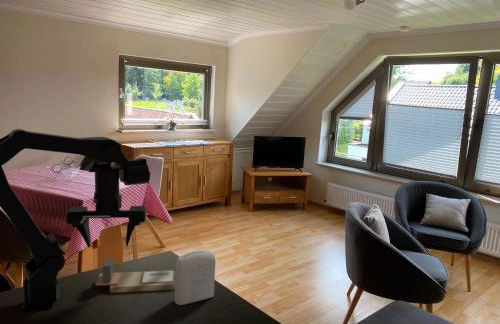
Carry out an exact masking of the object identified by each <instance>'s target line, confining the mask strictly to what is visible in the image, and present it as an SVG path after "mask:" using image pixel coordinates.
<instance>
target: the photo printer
mask: <svg viewBox="0 0 500 324" xmlns="http://www.w3.org/2000/svg"><path fill="white" fill-rule="evenodd" d="M174 267H175V268H174V270H175V278H174V303H175V304H176V305H178V306H183V305H188V304H193V303H196V302H199V301H204V300H207V299H210V298H213V297H214V296H215V280H216V279H215V277H216V275H215V274H216V257H215V253H214V252H212V251H211V250H195V251H190V252H188V253H185V254H182V255H180V256H179V257H177V258H176V259H175V266H174Z"/></svg>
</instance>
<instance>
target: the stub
mask: <svg viewBox="0 0 500 324" xmlns="http://www.w3.org/2000/svg"><path fill="white" fill-rule="evenodd" d="M114 267H115V266H114V257H106V258H105V260H104V263H103V265H102V272H100V273H99V275H98V278H97V280H96V282H95V286H97V287H98V286H110V285H117V284H118V281H119V277H120V274H121V271H120V272H115V271H114V269H115V268H114Z"/></svg>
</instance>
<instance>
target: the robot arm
mask: <svg viewBox="0 0 500 324" xmlns="http://www.w3.org/2000/svg"><path fill="white" fill-rule="evenodd" d="M25 149H27V150H37V151H45V152H53V153H54V152H56V153H62V154H63V153H64V154H71V155H72V154H73V155H80V156H83V157H85V158H86V157H87V158H90V159H93V160H91V162H90V163H89V164H88V165H87V166H85V168H84V169H85V170H86V171H87V172H89V173H94V193H93V204H95V210H88V206H72V207H71V208H70V209H69V210H68V211H67V212H66V214H65V224H67V225H71V227H72V228H76V229H77V231H78V232H79V234H80V235H81V237H82V238H83V240H84V242H85V244H86V246H87V248H91V246H92V238H91V232H90V219H119V218H120V219H122V218H128V222H127V226H126V227H127V228H126V234H125V235H126V236H125V246H126V247H128V245H129V243H130V239H131V237H132V234H133V232H134V230H135V227H136V226H140V225H141V223H145V222H146V221H147V219H146V218H147V207H146V206H145V205H130V208H129V209H122V201H123V200H122V198H123V197H122V194H120V182H121V183H123V184H124V186H127V187H128V186H136V185H144V184H149V182H150V179H151V172H150V168H149V165H148V162H147V158H144V157H140V158H136V159H134V158H133V159H128V158H127V157H126V156H125V155H124V154H123V152H122V146H121V144H120V143H119V142H118V141H117V140H115V139H113V138H110V137H107V136H89V137H88V136H87V137H74V136H68V135H67V136H65V135H58V134H57V135H56V134H51V133H43V132H37V131H29V130H25V129H21V128H16V129H13V130H11V131H10V132H9V133H8V134H6V135H5V136H3V137H1V138H0V208H1V209H2V210H3V212H4V214H5V215H6V216H7V218H8V219H9V220H10V221H11V223H12V225H13V226H14V228H15V229H16V230H17V232H18V233H19V234H20V236H21V237H22V240H24V241H25V243H26V244H27V247H28V249H29V252H30V255H31V256H32V257H30V259H28V260H27V262H26V263H25V264H24V265H22V266H23V267H22V268H23V270H24V273H25V275H26V278H25V279H24V280H23V297H24V299H23V300H24V304H23V305H22V306H21V311H28V310H29V311H30V310H31V311H32V310H44V309H47V310H48V309H49V310H50V309H52V308H53V307H54V305H55V303H56V302H57V301H58V299H59V298H60V295H61V294H60V290H61V289H60V281H59V280H57V279H58V275H59V272H61V270H63V268H64V267H65V264H66V258H65V255H66V251H65V250H64V249H63V247H62V245H61V243H59V242H58V240H57V238H56V237H55V235H54V234H53V232H50V233H49V234H48V235H46V234H44V233H43V232H42V231H41V229H40V228H39V226H38V225H37V224H36V222H35V221H34V219H33V218H32V217H31V215H30V213H29V212H28V210H27V208H26V207H25V206H24V204H23V203H22V202H21V200H20V199H19V197H18V196H17V194H16V192H15V191H14V190H13V188H12V187H11V185H10V183H9V181H8V179H7V176H6V173H5V171H4V169H3V166H4V165H5V164H7V163H8V162H9V161H11V160H12V159H13V158H14V157H15V156H17V155H18V154H19V153H20V152H22V151H23V150H25ZM94 160H97V161H99V162H103V163H97V162H96V161H94ZM111 163H113V164H117V165H111Z"/></svg>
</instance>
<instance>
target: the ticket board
mask: <svg viewBox="0 0 500 324" xmlns="http://www.w3.org/2000/svg"><path fill="white" fill-rule="evenodd" d="M120 272H121V271H120ZM169 290H170V291H172V290H174V291H175V269H174V270H153V271H151V270H150V271H149V270H148V271H127V272H121V274H120V277H119V281H118V284H117V285H109V293H110V294H115V293H129V292H130V293H131V292H134V293H135V292H149V291H150V292H151V291H152V292H153V291H169Z"/></svg>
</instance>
